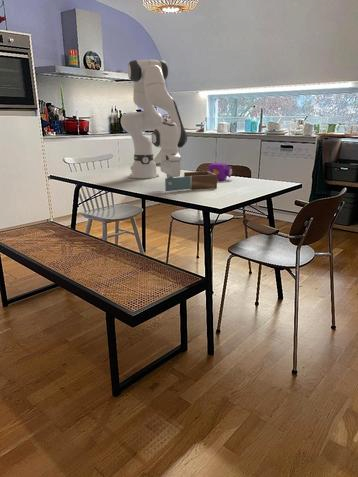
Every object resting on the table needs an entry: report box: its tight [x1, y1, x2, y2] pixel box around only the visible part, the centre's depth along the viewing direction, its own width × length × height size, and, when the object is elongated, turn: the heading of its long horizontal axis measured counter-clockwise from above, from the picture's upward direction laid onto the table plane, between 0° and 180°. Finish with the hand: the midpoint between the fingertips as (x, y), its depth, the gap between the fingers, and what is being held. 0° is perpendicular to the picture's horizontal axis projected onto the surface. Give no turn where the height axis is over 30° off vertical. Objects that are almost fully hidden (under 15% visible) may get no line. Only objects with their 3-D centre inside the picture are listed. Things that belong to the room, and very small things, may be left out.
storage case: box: [183, 170, 218, 191], centre depth 202 cm, size 14×14×7 cm
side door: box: [164, 176, 192, 192], centre depth 190 cm, size 14×2×7 cm, turn 114°
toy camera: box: [208, 161, 233, 181], centre depth 223 cm, size 11×14×10 cm
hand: (170, 183), depth 191 cm, fingers closed
